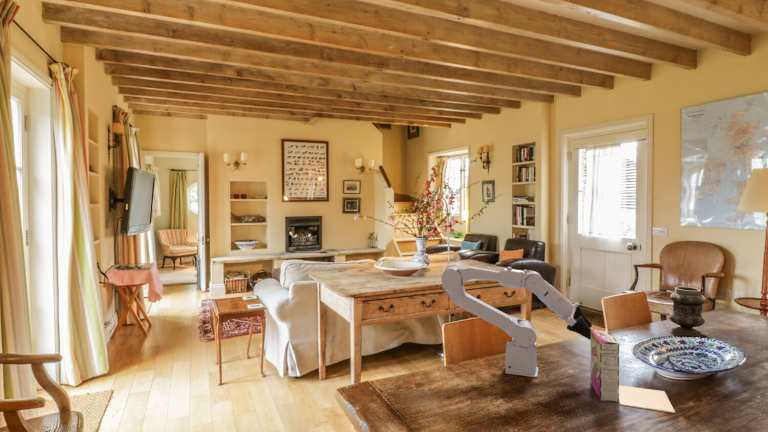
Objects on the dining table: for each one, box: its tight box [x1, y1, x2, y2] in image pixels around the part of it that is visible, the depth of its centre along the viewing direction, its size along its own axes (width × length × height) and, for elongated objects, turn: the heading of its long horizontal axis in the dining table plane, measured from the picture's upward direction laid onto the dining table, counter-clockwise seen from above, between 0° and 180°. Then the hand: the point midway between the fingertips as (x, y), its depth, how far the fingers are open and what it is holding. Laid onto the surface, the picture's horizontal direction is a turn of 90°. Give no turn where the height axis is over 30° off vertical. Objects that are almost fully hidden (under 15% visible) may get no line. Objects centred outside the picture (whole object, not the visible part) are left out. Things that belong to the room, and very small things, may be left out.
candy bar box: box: [590, 329, 620, 403], centre depth 125 cm, size 11×5×16 cm, turn 168°
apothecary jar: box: [668, 285, 706, 337], centre depth 180 cm, size 12×12×18 cm
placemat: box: [618, 384, 676, 414], centre depth 122 cm, size 12×13×1 cm
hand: (591, 332), depth 136 cm, fingers open, 7 cm apart
